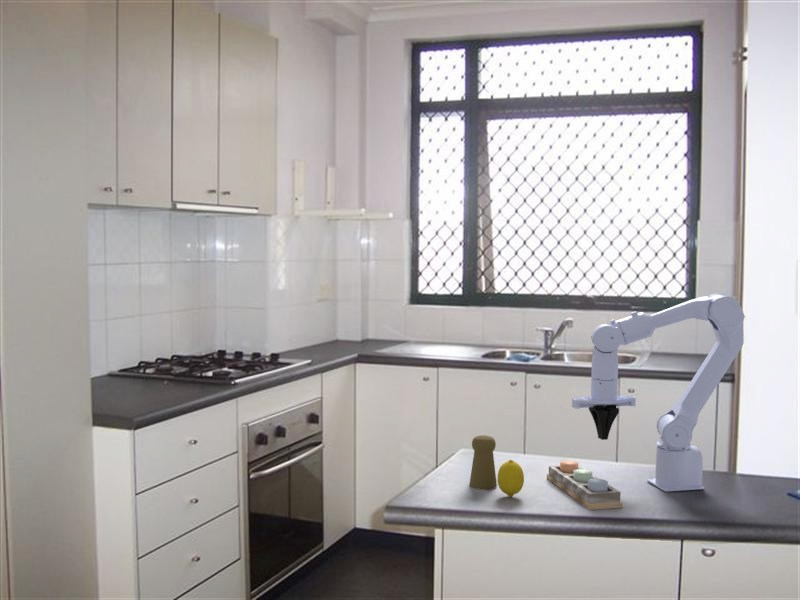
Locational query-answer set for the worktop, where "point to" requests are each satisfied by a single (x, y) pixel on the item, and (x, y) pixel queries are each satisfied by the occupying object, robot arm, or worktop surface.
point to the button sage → (582, 475)
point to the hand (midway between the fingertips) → (602, 438)
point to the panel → (584, 490)
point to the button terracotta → (568, 466)
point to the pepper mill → (483, 463)
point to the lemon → (510, 478)
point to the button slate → (597, 485)
